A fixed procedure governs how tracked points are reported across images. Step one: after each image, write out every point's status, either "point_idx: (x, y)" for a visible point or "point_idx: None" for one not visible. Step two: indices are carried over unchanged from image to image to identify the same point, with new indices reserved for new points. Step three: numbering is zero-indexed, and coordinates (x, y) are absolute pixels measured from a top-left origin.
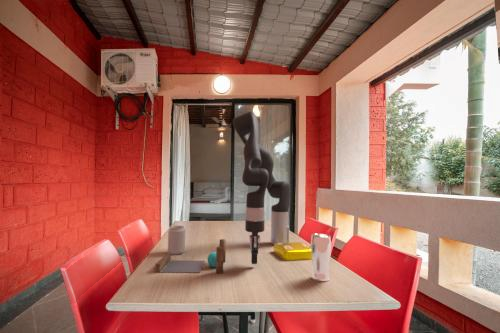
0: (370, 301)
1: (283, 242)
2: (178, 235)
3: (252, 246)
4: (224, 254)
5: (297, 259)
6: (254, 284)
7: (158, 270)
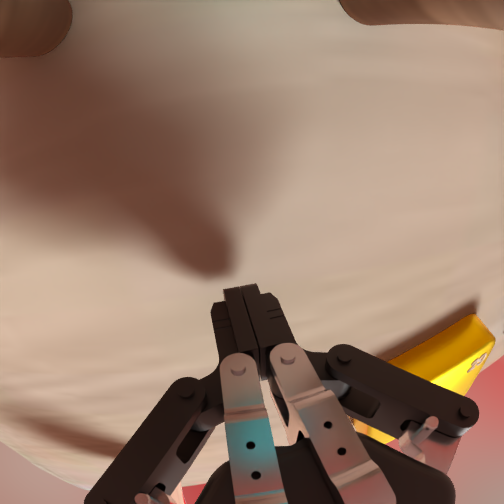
0: (62, 478)
1: None
2: None
3: (99, 484)
4: (398, 7)
5: None
6: None
7: None
